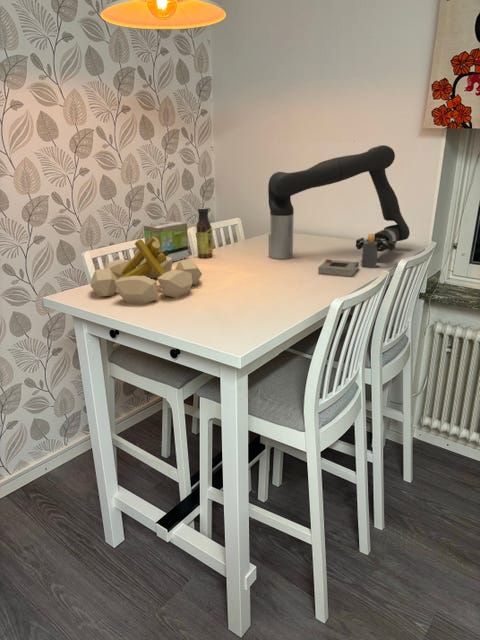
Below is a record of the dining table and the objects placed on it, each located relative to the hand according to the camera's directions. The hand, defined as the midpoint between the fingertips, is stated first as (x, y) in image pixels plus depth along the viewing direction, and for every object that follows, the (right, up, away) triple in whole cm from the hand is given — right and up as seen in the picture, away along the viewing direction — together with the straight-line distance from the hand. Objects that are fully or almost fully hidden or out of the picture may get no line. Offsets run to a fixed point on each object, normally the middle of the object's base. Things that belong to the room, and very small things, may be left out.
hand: (369, 247), depth 181 cm
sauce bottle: (-62, -1, +23) cm, 66 cm away
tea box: (-77, -2, +19) cm, 80 cm away
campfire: (-79, -16, -17) cm, 82 cm away
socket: (-12, -9, -3) cm, 15 cm away
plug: (+1, -7, +3) cm, 7 cm away
